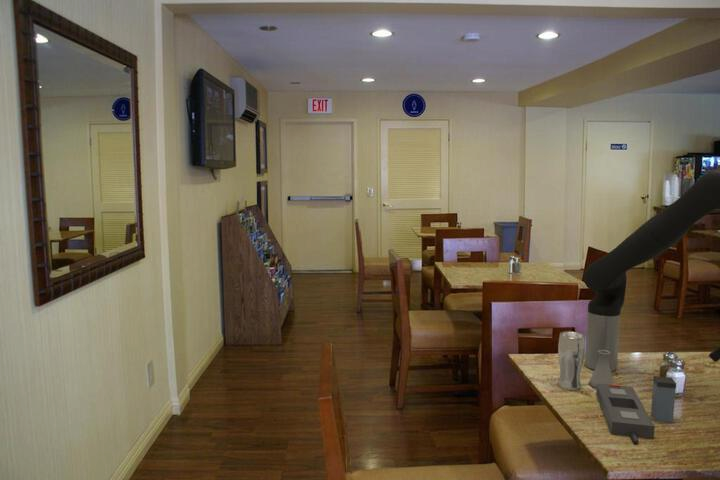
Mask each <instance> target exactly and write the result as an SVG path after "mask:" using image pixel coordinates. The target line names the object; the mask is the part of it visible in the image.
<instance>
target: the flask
mask: <svg viewBox="0 0 720 480" xmlns="http://www.w3.org/2000/svg"><path fill="white" fill-rule="evenodd" d="M598 354H599V358H598V362H597V365H596V368H595V370H594V371H593V373H592V374H591V375H592V376H591V377H590V379H589V381H588V385H589V386H591V387H592V388H594V389H596V387H597V384H608V385H610V383H611V384H616V383H615V379H614V376H613V374H612V371H611V370H610V366H609V354H610V352H609V351H606V350H598Z"/></svg>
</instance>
